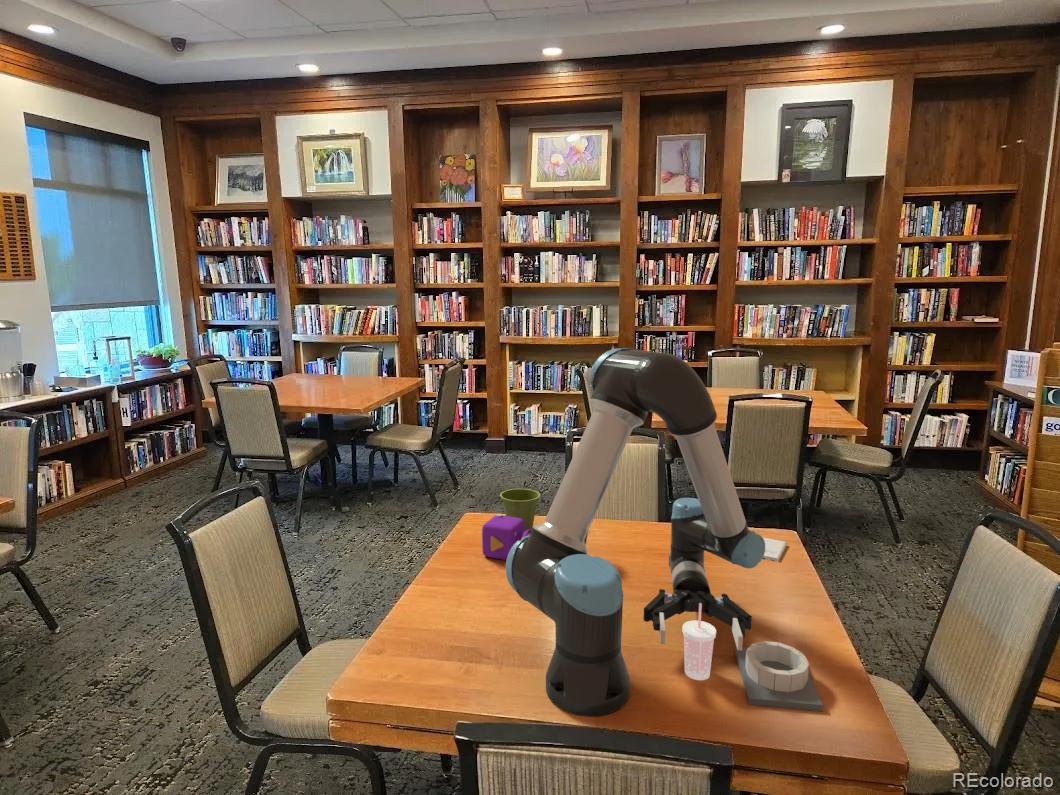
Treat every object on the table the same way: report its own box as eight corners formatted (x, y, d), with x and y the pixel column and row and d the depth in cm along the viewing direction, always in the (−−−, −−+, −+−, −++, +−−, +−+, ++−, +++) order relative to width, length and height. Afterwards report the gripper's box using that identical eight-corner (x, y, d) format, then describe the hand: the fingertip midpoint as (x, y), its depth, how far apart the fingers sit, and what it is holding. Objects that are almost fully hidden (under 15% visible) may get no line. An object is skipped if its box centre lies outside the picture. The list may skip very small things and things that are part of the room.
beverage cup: (712, 664, 121) (715, 597, 119) (715, 684, 115) (719, 613, 113) (679, 661, 122) (682, 594, 120) (681, 681, 116) (684, 610, 114)
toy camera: (530, 565, 165) (530, 528, 163) (479, 560, 168) (479, 525, 166) (538, 548, 176) (537, 514, 174) (490, 544, 178) (489, 510, 176)
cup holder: (749, 704, 110) (750, 680, 109) (734, 652, 125) (736, 631, 125) (822, 711, 108) (824, 687, 107) (798, 657, 124) (800, 636, 123)
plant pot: (545, 536, 184) (544, 499, 182) (505, 540, 181) (504, 502, 179) (534, 521, 195) (534, 486, 193) (497, 525, 192) (496, 489, 190)
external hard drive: (786, 547, 177) (777, 563, 166) (755, 541, 181) (745, 557, 170) (786, 541, 176) (778, 558, 166) (756, 536, 181) (746, 551, 170)
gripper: (750, 606, 134) (772, 665, 113) (631, 598, 138) (630, 653, 117) (752, 573, 133) (774, 626, 112) (631, 565, 137) (631, 615, 116)
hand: (701, 640), depth 115 cm, fingers open, 13 cm apart
